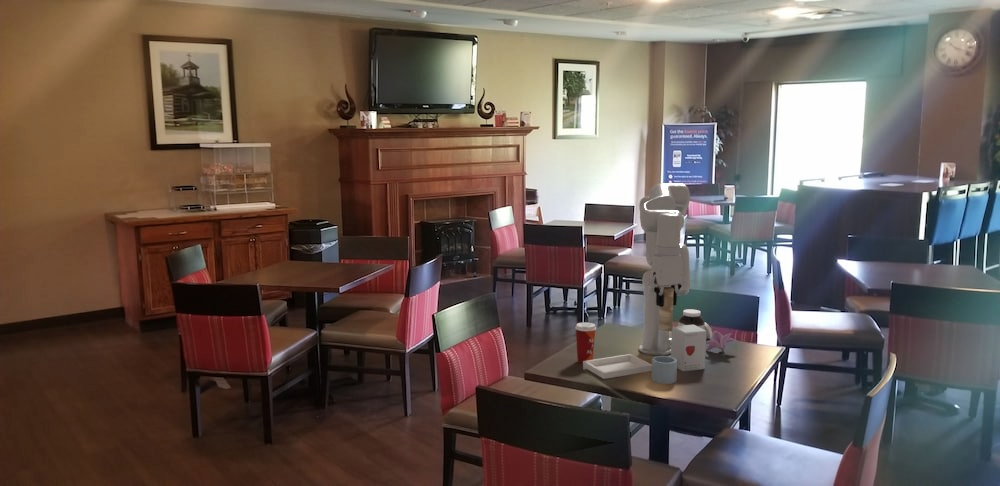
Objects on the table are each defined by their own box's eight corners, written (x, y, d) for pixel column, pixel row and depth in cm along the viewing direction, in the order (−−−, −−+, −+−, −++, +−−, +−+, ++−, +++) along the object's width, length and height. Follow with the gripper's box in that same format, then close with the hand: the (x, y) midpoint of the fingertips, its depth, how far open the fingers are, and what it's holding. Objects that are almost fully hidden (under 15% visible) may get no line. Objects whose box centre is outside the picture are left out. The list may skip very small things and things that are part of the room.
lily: (741, 356, 276) (734, 331, 279) (737, 352, 266) (731, 327, 269) (709, 363, 280) (703, 338, 283) (704, 359, 270) (698, 334, 273)
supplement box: (682, 374, 254) (683, 332, 251) (669, 366, 262) (671, 325, 260) (705, 371, 256) (707, 330, 254) (692, 363, 264) (693, 323, 262)
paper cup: (594, 365, 263) (595, 328, 261) (573, 364, 265) (574, 327, 262) (596, 358, 271) (597, 322, 268) (575, 357, 272) (576, 321, 270)
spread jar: (674, 338, 296) (675, 310, 294) (690, 333, 303) (691, 305, 302) (700, 344, 287) (701, 316, 285) (716, 339, 295) (717, 311, 293)
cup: (666, 377, 251) (667, 354, 249) (681, 384, 243) (681, 361, 242) (646, 380, 248) (647, 357, 246) (661, 388, 240) (661, 364, 239)
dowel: (666, 326, 246) (668, 286, 243) (674, 330, 242) (676, 288, 239) (656, 328, 244) (657, 287, 241) (663, 331, 240) (665, 290, 238)
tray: (630, 361, 267) (630, 353, 267) (653, 373, 254) (653, 365, 254) (582, 369, 259) (583, 361, 259) (603, 381, 247) (603, 373, 246)
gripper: (681, 247, 245) (680, 300, 248) (639, 251, 238) (638, 305, 241) (696, 250, 238) (694, 305, 241) (653, 254, 232) (651, 310, 235)
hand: (666, 304), depth 241 cm, fingers closed on dowel, 4 cm apart
